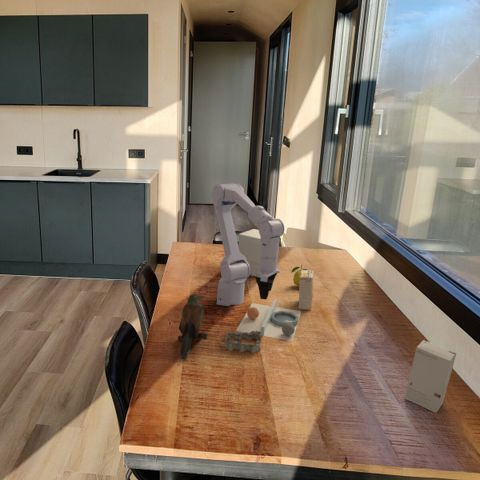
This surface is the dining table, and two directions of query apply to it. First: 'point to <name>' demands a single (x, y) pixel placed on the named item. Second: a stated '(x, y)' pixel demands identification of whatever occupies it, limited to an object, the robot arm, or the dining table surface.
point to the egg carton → (238, 338)
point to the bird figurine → (191, 324)
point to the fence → (268, 317)
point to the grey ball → (288, 329)
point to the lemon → (297, 275)
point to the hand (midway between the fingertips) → (265, 294)
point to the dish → (284, 318)
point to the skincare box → (429, 375)
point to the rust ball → (253, 313)
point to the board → (272, 329)
